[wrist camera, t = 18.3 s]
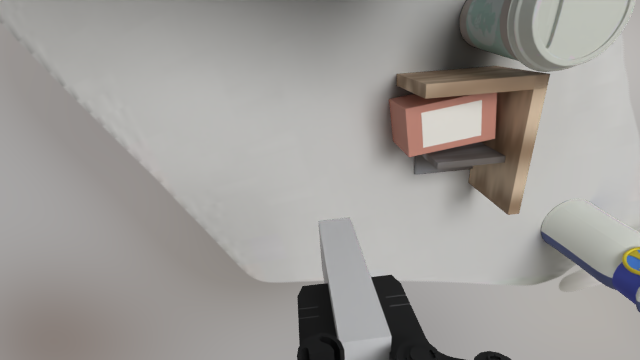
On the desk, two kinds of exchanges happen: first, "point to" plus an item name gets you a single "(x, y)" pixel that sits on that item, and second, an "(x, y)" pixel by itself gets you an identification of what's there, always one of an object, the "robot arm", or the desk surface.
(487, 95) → the red box
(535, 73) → the shelf
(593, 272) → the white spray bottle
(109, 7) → the desk surface
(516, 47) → the coffee cup
